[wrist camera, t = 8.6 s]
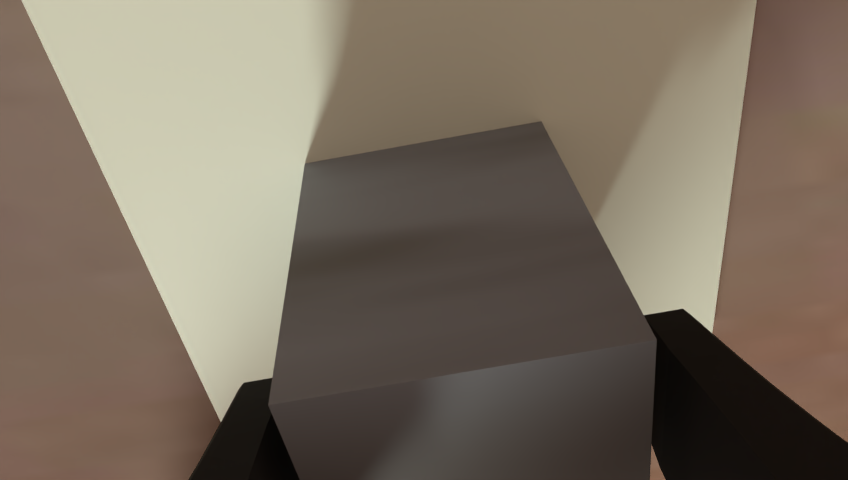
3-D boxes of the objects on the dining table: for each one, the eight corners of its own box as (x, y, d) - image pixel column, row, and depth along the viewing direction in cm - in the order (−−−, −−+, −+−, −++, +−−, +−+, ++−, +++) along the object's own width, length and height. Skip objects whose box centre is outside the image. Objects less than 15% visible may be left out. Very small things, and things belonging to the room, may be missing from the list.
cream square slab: (673, 340, 19) (704, 393, 17) (252, 408, 19) (242, 467, 17) (718, -147, 12) (775, -135, 11) (64, -35, 12) (18, -6, 11)
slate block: (553, 304, 15) (645, 557, 10) (355, 337, 15) (352, 604, 10) (541, 121, 13) (656, 340, 8) (304, 162, 13) (268, 405, 8)
